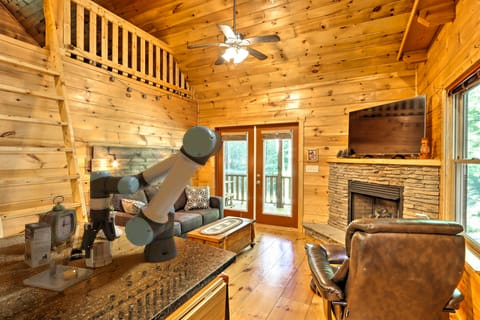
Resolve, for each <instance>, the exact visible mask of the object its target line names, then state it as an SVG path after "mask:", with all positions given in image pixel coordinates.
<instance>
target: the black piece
mask: <svg viewBox="0 0 480 320" xmlns="http://www.w3.org/2000/svg"><path fill="white" fill-rule="evenodd" d="M83 253H84V250H80V247H74V248H71V251H70V254H69V255H70V256H67V257H64V258H65V260H64V259H63V262H64V261H65V262H64V263H66V261H69V262H73V261H75V262H76V261H79V260H80V261H81V260H86V258H85V254H83Z"/></svg>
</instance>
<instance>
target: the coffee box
mask: <svg viewBox="0 0 480 320" xmlns="http://www.w3.org/2000/svg"><path fill="white" fill-rule="evenodd" d="M51 244H52V243H51V225H49V224H47V223H45V222H38V221H37V222H32V223H31V222H30V223H25V224H24V263H25V264H26V265H28V266H29V267H30V268H32V269H34V268H37V267H40V266H44V265H48V264H50V260H51V250H52V246H51Z"/></svg>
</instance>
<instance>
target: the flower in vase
mask: <svg viewBox="0 0 480 320" xmlns="http://www.w3.org/2000/svg"><path fill="white" fill-rule="evenodd" d="M113 195H114V194H110V206H109V208H110V216H109V217H114V220H115V218H116V215H117V213H118V211H114V210H115V207H114V205H113V202H112V199H113ZM114 226H115V232H116V238H119V237H120V236H122V235H123V234H124V231H123V230H122V229H121V228H119V227H118V226H116V223H114ZM99 235H100V237H101V238H103V239H106V237H105V235H104V233H103V231H102V232H100V233H99ZM112 235H113V234H112Z"/></svg>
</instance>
